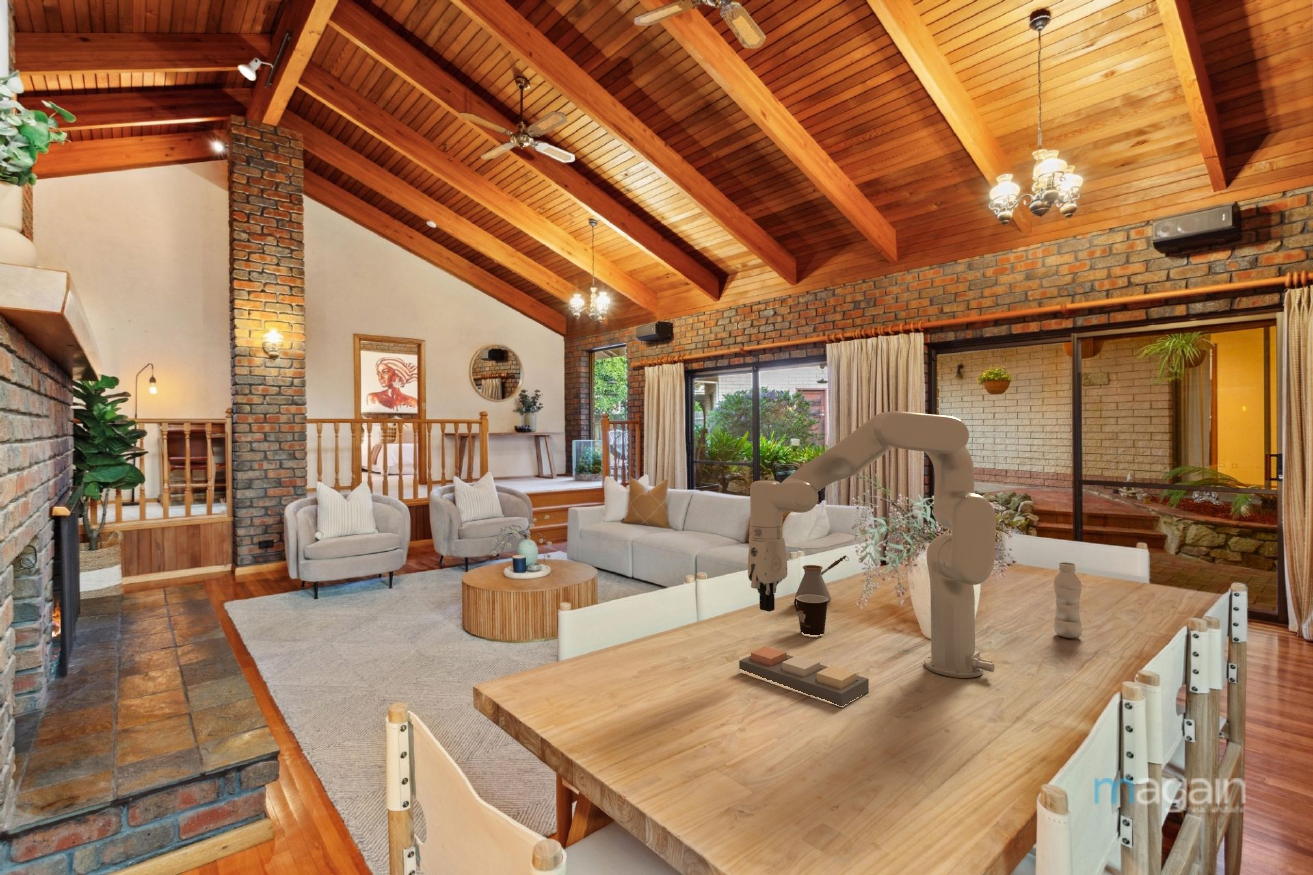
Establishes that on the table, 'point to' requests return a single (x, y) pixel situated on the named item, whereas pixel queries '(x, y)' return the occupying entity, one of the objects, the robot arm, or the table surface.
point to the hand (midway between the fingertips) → (767, 609)
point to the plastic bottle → (1067, 602)
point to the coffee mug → (811, 613)
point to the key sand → (836, 677)
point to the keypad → (807, 682)
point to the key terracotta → (768, 656)
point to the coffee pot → (815, 580)
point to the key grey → (801, 666)
